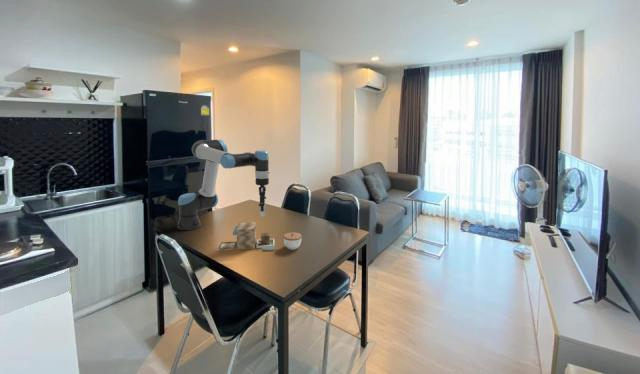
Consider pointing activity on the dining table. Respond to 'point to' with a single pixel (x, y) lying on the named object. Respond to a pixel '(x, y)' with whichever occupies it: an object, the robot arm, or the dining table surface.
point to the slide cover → (235, 230)
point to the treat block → (265, 238)
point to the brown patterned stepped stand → (241, 238)
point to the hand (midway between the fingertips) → (262, 212)
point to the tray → (266, 247)
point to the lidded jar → (292, 240)
